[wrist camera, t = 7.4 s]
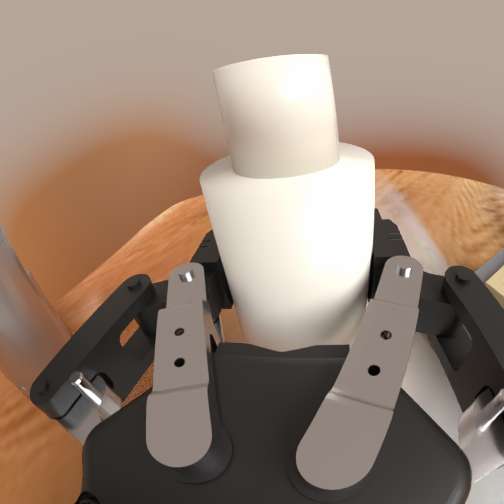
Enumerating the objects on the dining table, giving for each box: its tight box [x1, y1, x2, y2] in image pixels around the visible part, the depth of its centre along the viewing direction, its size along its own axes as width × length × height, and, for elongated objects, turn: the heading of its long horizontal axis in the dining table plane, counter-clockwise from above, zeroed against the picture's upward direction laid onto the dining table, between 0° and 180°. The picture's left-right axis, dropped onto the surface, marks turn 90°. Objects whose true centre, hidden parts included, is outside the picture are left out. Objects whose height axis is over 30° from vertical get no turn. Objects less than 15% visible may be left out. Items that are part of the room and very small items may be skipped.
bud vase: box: [200, 54, 375, 352], centre depth 11 cm, size 5×5×15 cm
